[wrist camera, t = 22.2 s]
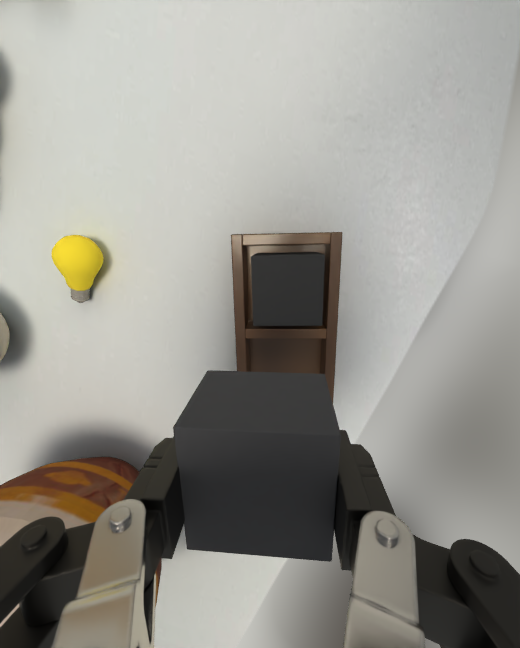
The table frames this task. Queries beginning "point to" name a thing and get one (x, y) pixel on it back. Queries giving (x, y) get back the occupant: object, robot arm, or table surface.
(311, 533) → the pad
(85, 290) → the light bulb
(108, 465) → the jug
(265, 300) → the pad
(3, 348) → the decorative object
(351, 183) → the table surface
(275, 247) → the back frame
